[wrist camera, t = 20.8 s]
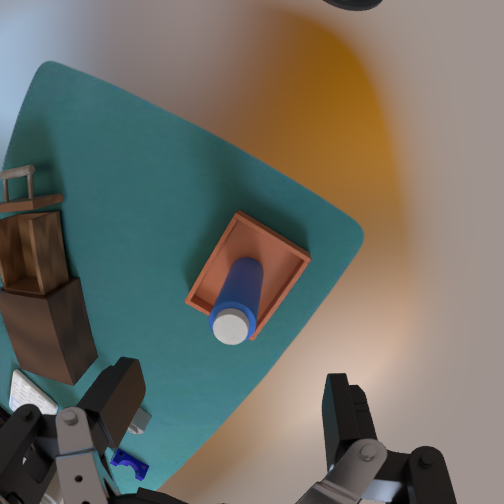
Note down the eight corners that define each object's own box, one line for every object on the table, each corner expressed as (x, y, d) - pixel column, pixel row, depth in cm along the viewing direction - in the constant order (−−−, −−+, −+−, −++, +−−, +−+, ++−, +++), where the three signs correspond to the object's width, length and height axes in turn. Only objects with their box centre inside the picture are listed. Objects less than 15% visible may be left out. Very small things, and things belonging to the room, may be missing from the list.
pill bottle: (229, 256, 39) (204, 306, 25) (264, 257, 38) (255, 308, 25) (230, 287, 40) (207, 348, 26) (263, 289, 40) (255, 351, 26)
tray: (238, 209, 38) (235, 212, 35) (309, 252, 38) (311, 259, 36) (189, 293, 41) (184, 301, 39) (254, 331, 42) (253, 341, 40)
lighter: (151, 416, 49) (137, 446, 42) (147, 419, 50) (133, 449, 42) (120, 393, 48) (102, 421, 41) (116, 396, 49) (98, 425, 41)
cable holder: (114, 452, 55) (108, 464, 51) (118, 448, 54) (112, 460, 50) (143, 470, 56) (138, 482, 52) (149, 466, 55) (144, 478, 51)
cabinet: (27, 272, 43) (-5, 290, 35) (79, 277, 42) (46, 299, 34) (46, 345, 48) (21, 368, 39) (98, 357, 46) (73, 386, 38)
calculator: (60, 404, 52) (56, 409, 51) (48, 435, 58) (45, 439, 56) (16, 366, 51) (12, 370, 49) (11, 403, 57) (8, 407, 55)
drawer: (13, 170, 38) (-17, 174, 31) (61, 160, 37) (29, 163, 30) (26, 277, 43) (1, 292, 36) (74, 282, 42) (48, 300, 35)
